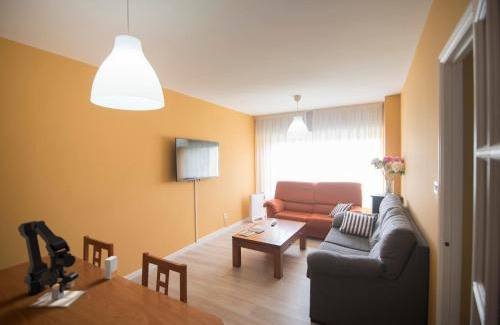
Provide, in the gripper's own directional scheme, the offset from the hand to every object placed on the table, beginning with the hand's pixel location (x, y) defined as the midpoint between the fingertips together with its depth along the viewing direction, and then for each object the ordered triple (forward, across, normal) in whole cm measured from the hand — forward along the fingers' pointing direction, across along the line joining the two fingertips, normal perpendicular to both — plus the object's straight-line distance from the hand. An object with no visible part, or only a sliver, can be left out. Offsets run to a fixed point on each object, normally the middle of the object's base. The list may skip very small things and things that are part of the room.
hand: (58, 292), depth 122 cm
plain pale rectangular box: (+3, -5, +11) cm, 13 cm away
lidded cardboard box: (+2, 0, 0) cm, 2 cm away
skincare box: (+4, +14, +23) cm, 27 cm away
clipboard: (+3, +1, 0) cm, 3 cm away
